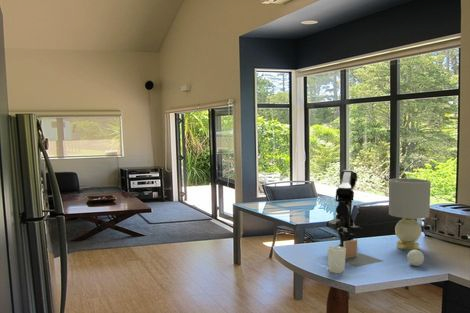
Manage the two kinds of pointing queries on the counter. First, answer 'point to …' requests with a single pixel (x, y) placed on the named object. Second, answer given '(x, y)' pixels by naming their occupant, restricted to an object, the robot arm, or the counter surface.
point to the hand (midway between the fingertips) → (343, 244)
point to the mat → (361, 260)
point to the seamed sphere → (415, 257)
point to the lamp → (409, 209)
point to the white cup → (336, 259)
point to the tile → (350, 248)
